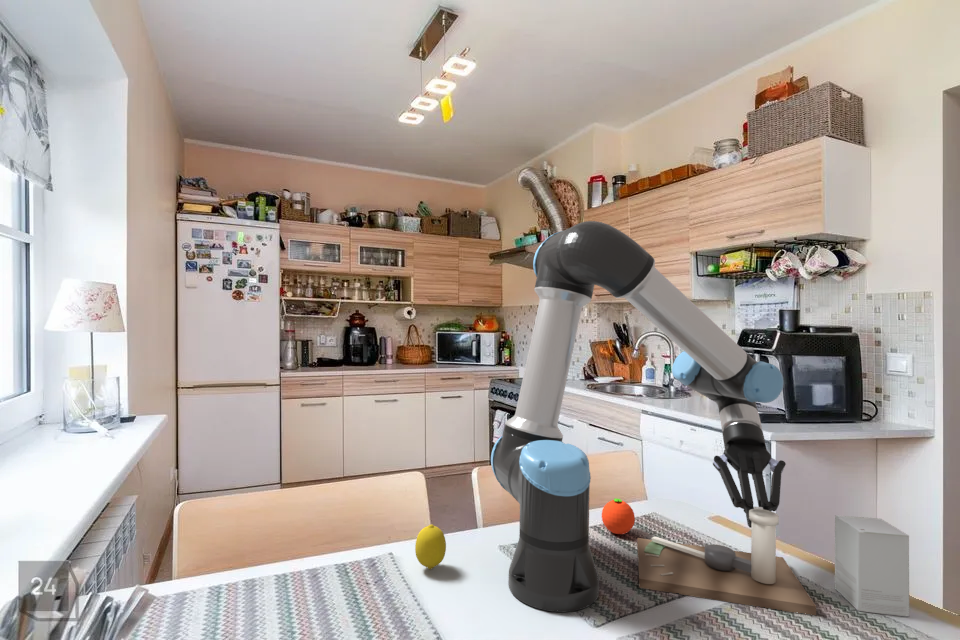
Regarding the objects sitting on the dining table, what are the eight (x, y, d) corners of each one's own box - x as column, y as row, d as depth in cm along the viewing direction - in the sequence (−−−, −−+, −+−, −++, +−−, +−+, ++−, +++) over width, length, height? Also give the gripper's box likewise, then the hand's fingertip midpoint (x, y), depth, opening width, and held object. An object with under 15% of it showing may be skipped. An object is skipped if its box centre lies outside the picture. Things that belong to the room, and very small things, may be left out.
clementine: (598, 523, 110) (598, 492, 110) (630, 525, 109) (630, 493, 109) (603, 539, 102) (604, 504, 102) (638, 541, 101) (638, 506, 101)
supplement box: (911, 618, 75) (911, 535, 75) (856, 611, 77) (857, 531, 77) (882, 592, 83) (882, 517, 83) (833, 587, 84) (833, 513, 84)
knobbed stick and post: (647, 545, 95) (648, 488, 95) (658, 538, 99) (659, 483, 99) (773, 588, 80) (774, 521, 80) (781, 578, 83) (782, 513, 83)
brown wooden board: (639, 587, 83) (639, 577, 83) (637, 545, 99) (637, 536, 99) (816, 616, 75) (816, 605, 75) (782, 565, 92) (782, 556, 92)
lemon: (409, 573, 87) (409, 527, 87) (424, 559, 92) (424, 516, 92) (437, 579, 84) (437, 533, 85) (450, 565, 90) (451, 521, 90)
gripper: (773, 443, 103) (801, 559, 86) (706, 439, 106) (720, 549, 90) (781, 422, 98) (811, 541, 81) (710, 419, 101) (726, 532, 85)
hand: (763, 545), depth 86 cm, fingers closed
